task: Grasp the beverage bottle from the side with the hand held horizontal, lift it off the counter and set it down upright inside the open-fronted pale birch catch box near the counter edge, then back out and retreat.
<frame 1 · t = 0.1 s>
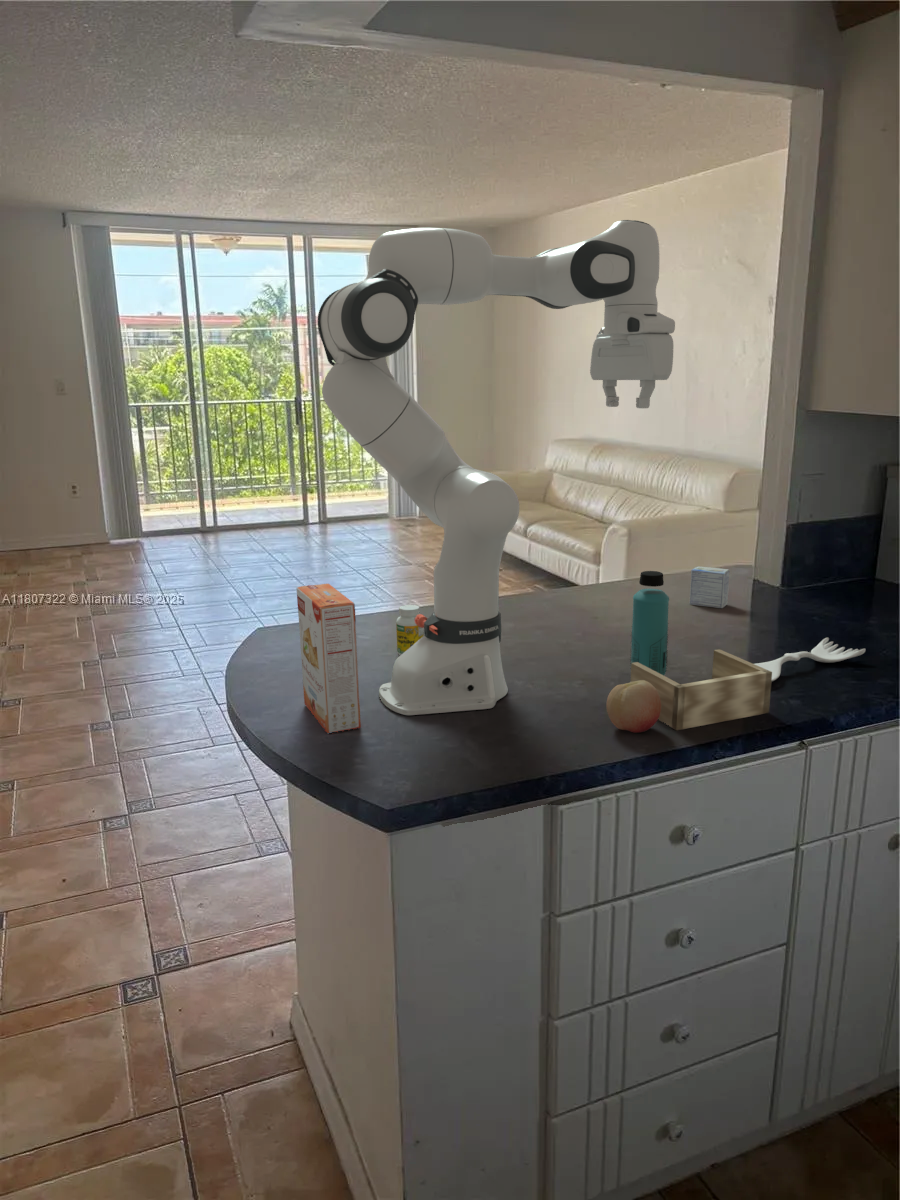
hand: (627, 407, 153), 48 cm above the counter, tool pointing down, fingers open, 8 cm apart
beverage bottle: (647, 681, 158), on the counter
fruit: (632, 731, 137), on the counter
supplement bottle: (410, 654, 175), on the counter
medicine box: (708, 605, 208), on the counter
catch box: (697, 707, 145), on the counter
white long slender part: (788, 673, 162), on the counter
cracker box: (330, 718, 143), on the counter
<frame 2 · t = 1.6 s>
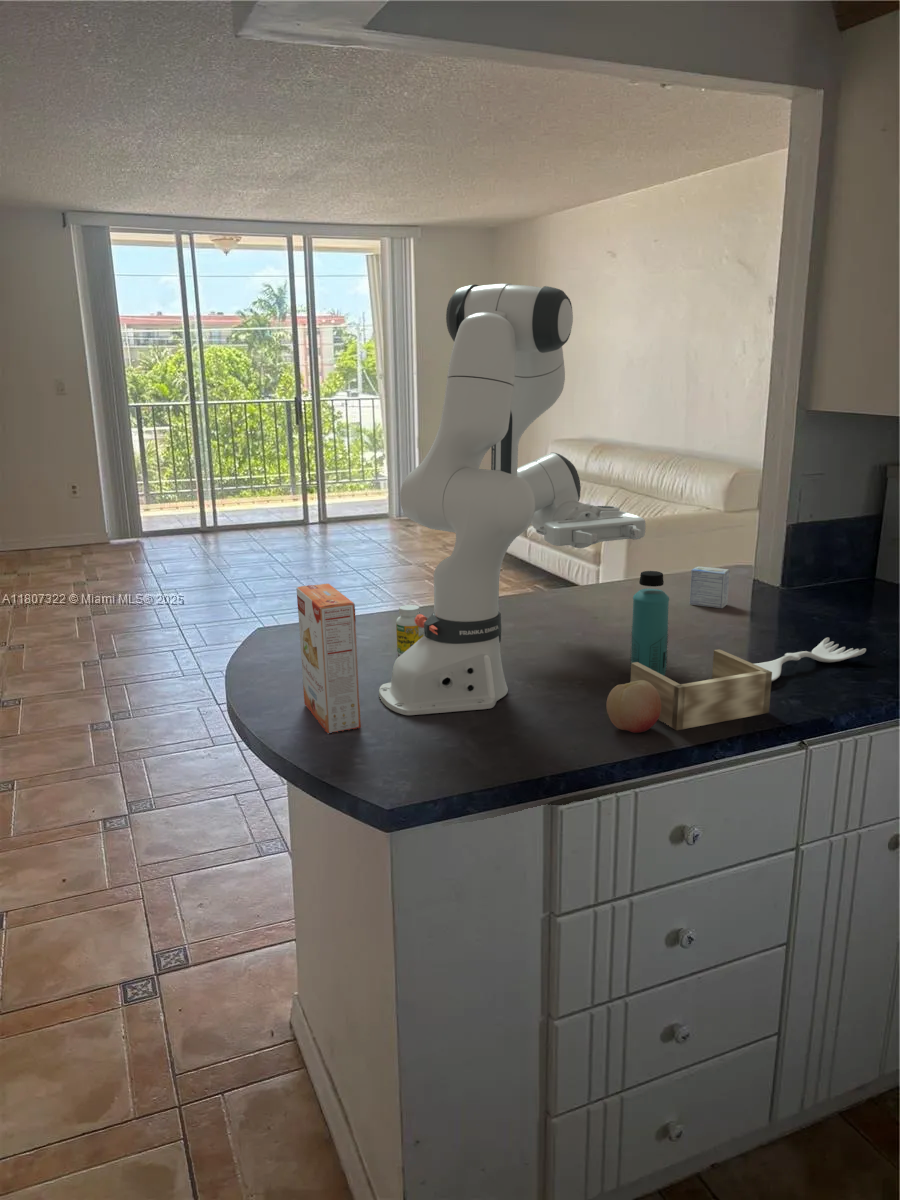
hand: (616, 537, 163), 24 cm above the counter, tool horizontal, fingers open, 8 cm apart
nothing on the counter moved.
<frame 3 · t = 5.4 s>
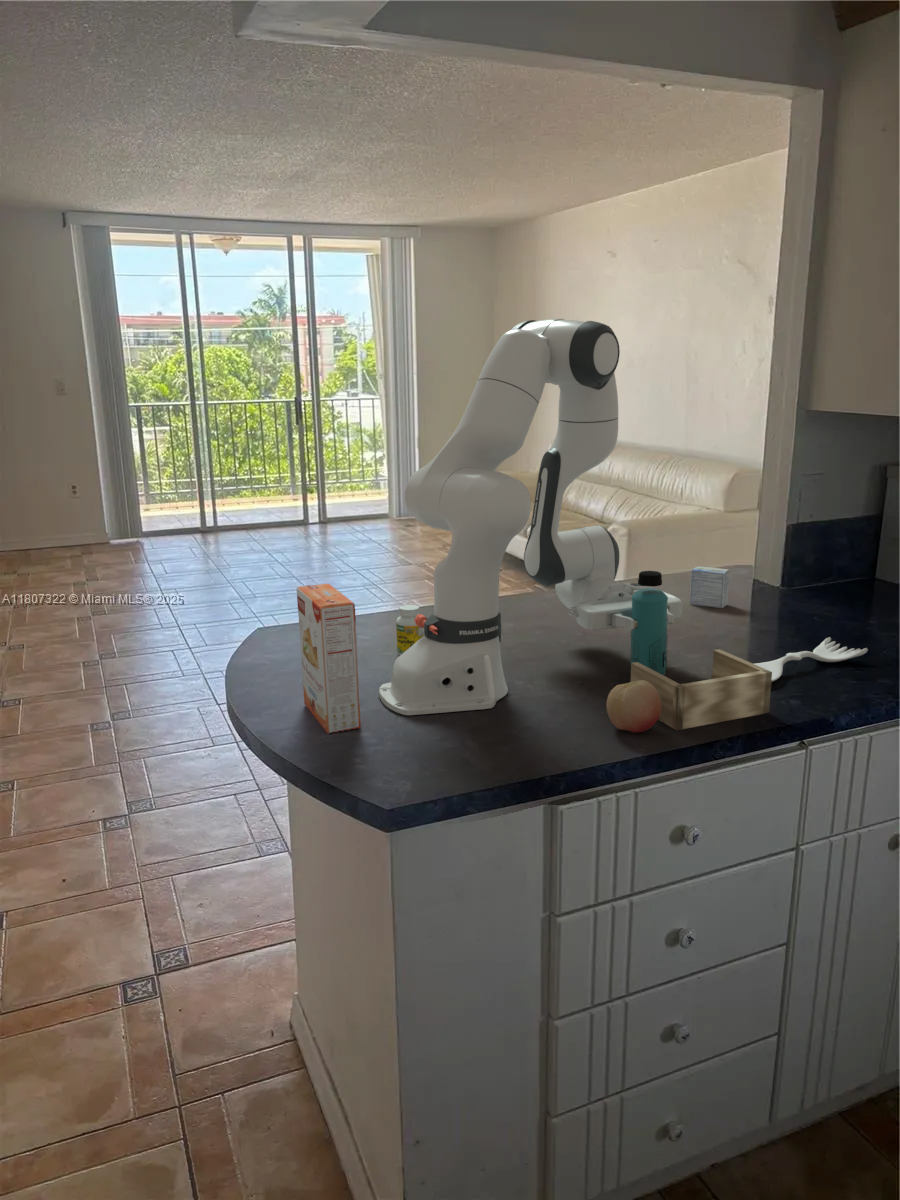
hand: (653, 622, 154), 11 cm above the counter, tool horizontal, fingers open, 6 cm apart
beverage bottle: (647, 680, 158), on the counter, touching gripper
everything else where it was.
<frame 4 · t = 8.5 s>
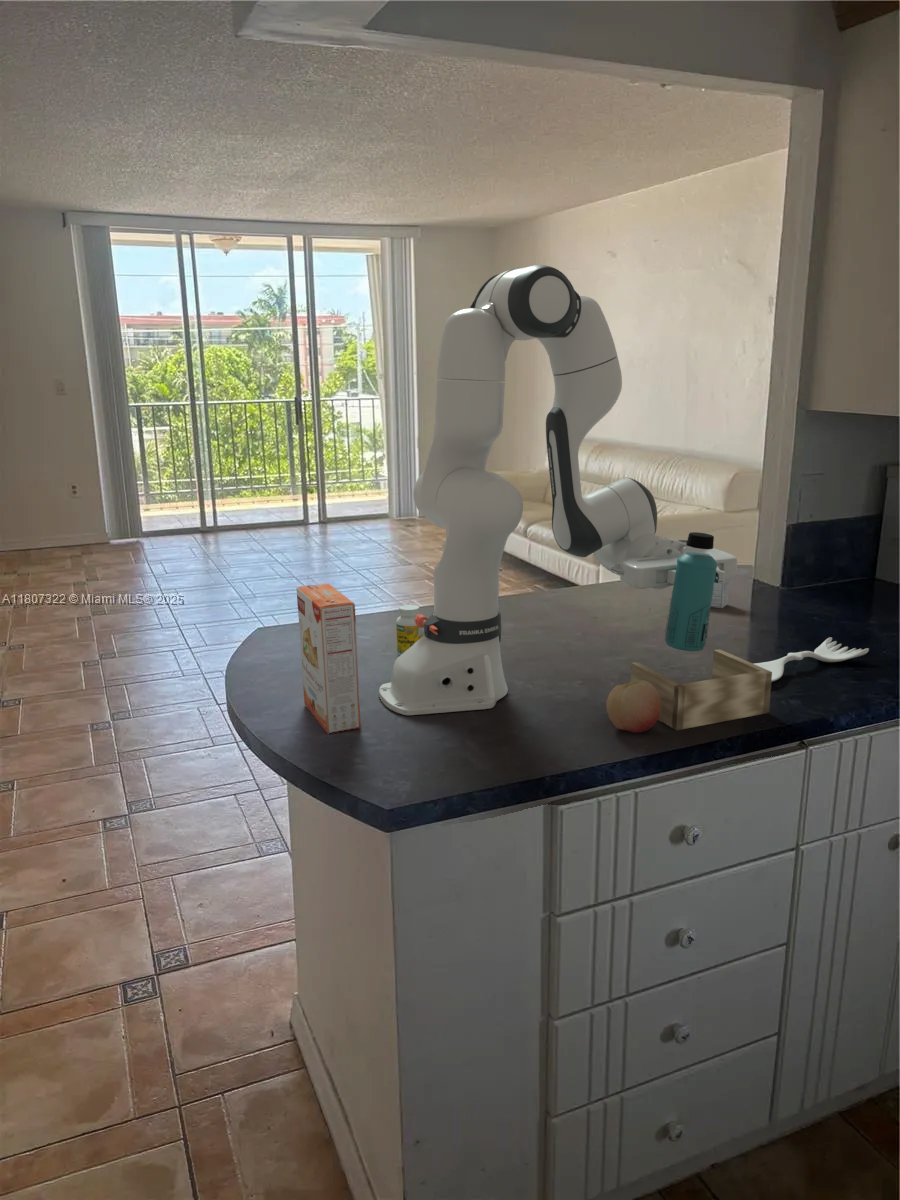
hand: (708, 579, 139), 22 cm above the counter, tool horizontal
beverage bottle: (682, 655, 143), point 9 cm above the counter, touching gripper
everything else where it was.
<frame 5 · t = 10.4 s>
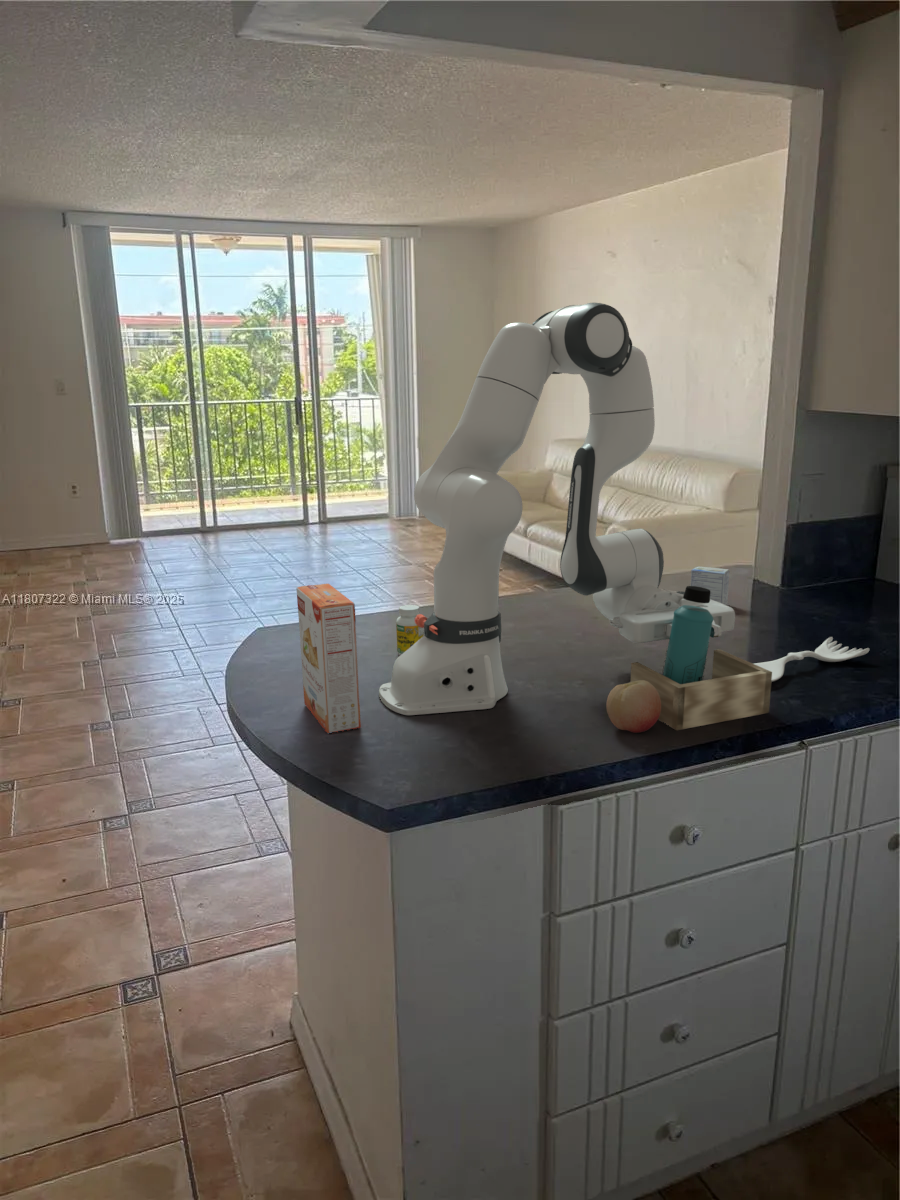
hand: (706, 634, 141), 13 cm above the counter, tool horizontal, fingers open, 3 cm apart
beverage bottle: (676, 706, 144), point 1 cm above the counter, touching catch box, gripper
everything else where it was.
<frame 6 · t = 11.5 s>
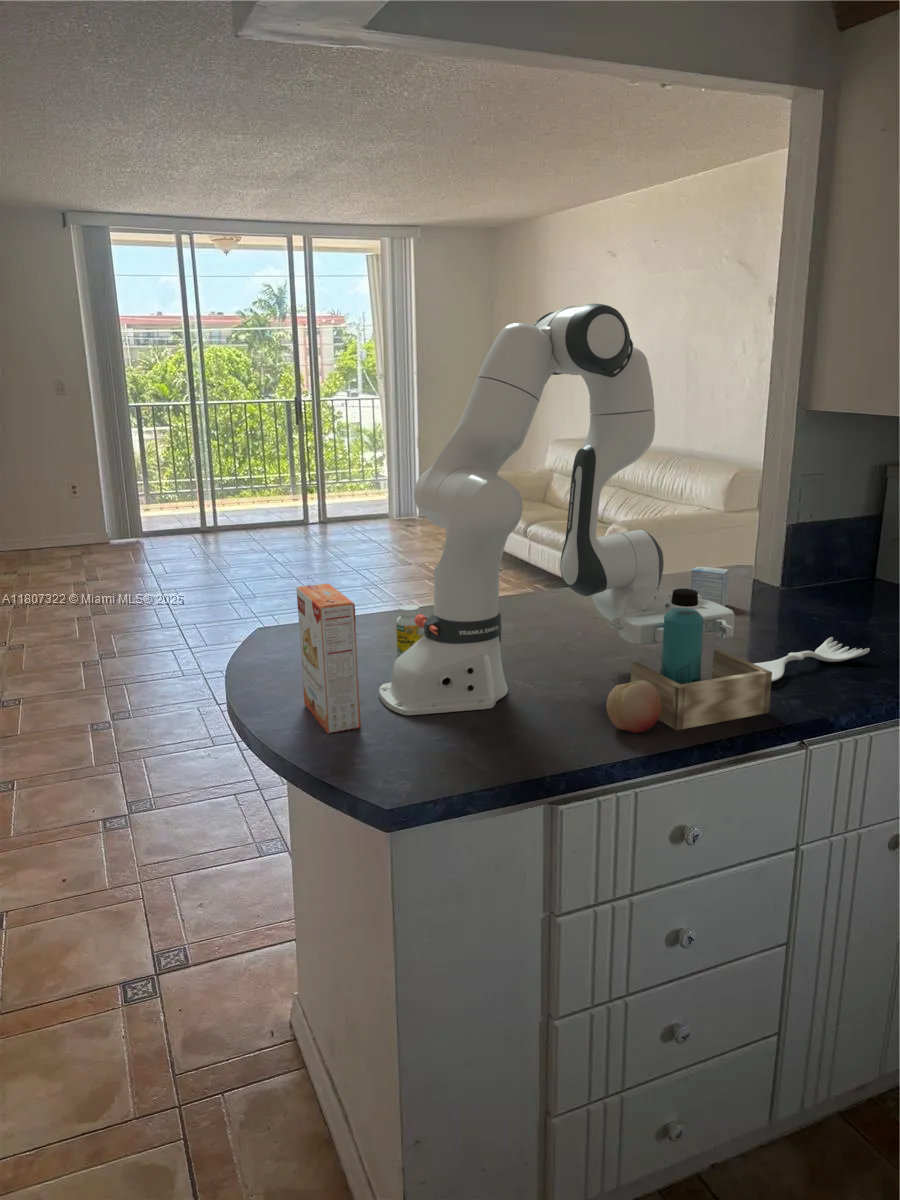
hand: (705, 636, 141), 13 cm above the counter, tool horizontal, fingers open, 8 cm apart
beverage bottle: (677, 708, 144), resting on catch box
everything else where it was.
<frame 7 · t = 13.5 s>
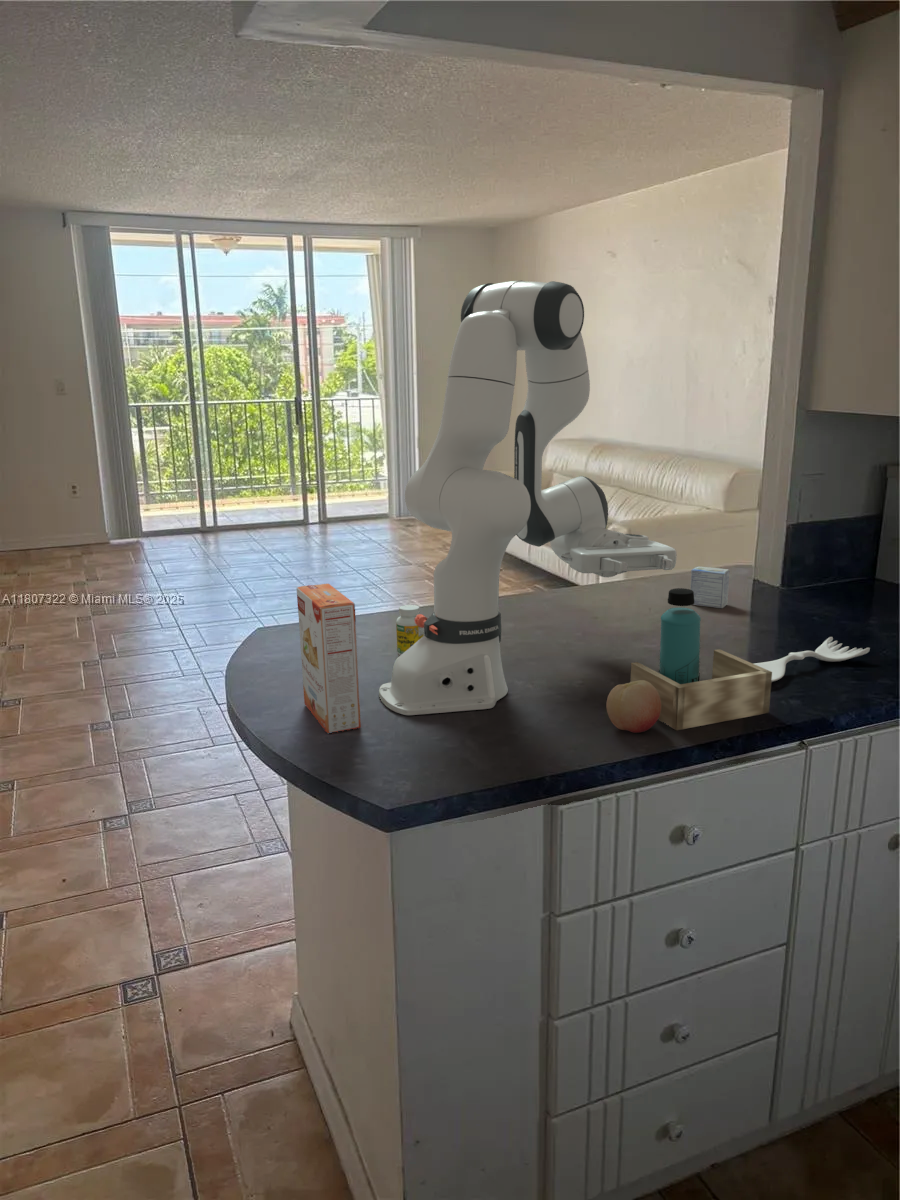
hand: (647, 566, 154), 21 cm above the counter, tool horizontal, fingers open, 8 cm apart
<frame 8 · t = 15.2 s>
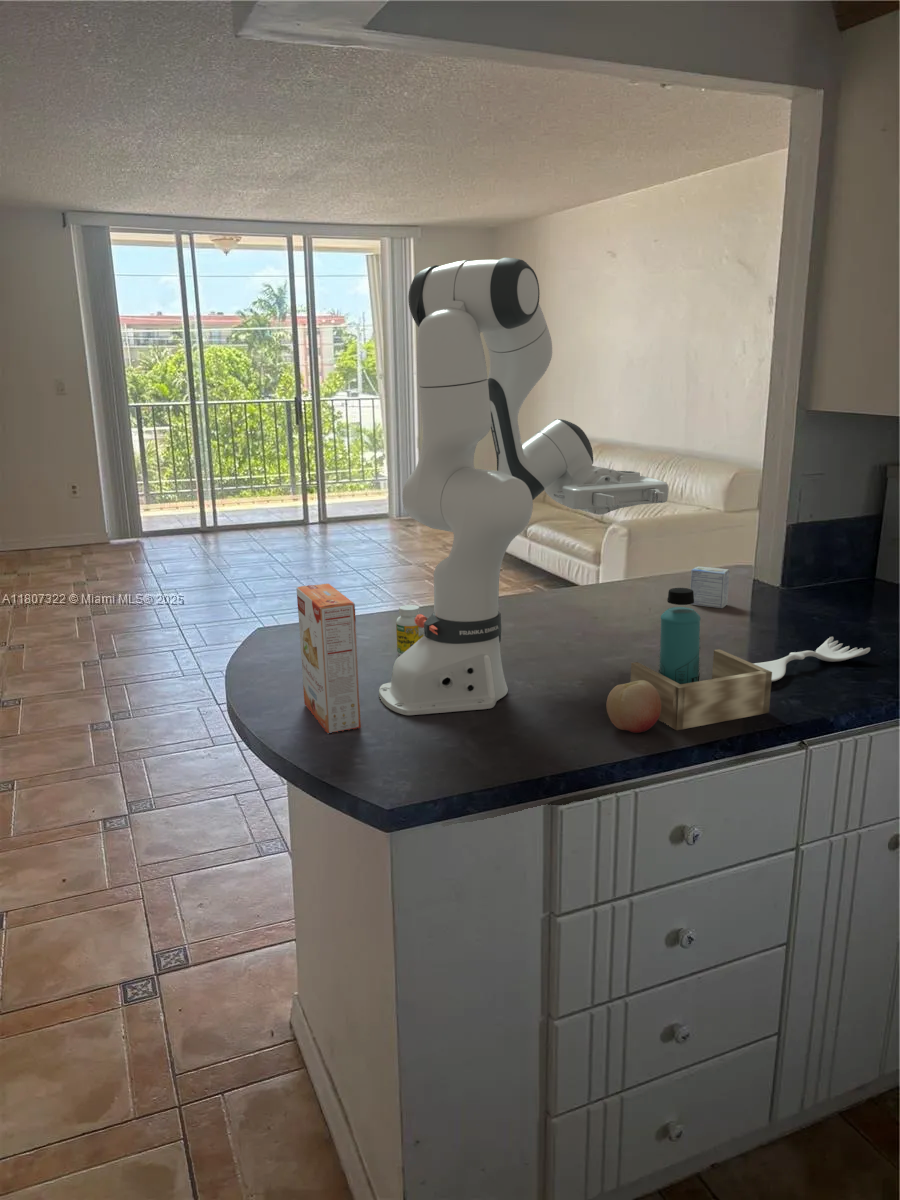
hand: (639, 499, 154), 32 cm above the counter, tool horizontal, fingers open, 8 cm apart
at the end: beverage bottle inside the target area (3.6 cm from its centre), resting on catch box; beverage bottle tilted 1°; the gripper is holding nothing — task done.
